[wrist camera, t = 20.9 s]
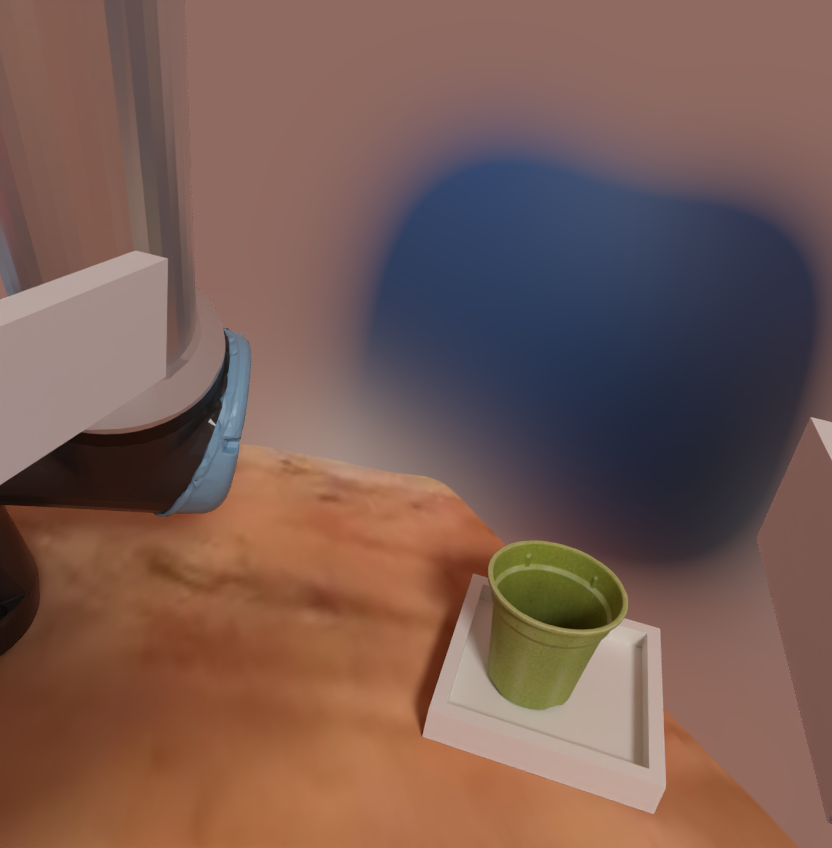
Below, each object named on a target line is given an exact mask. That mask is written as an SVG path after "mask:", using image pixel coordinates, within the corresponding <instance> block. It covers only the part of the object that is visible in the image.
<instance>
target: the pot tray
mask: <svg viewBox="0 0 832 848" xmlns="http://www.w3.org/2000/svg"><path fill="white" fill-rule="evenodd" d="M492 611H493V601H492V596H491V588H490V585H489V582H488V578H487V577H484V576H481V575H477V574H474V573H473V575H472V578H471V582H470V585H469V588H468V591H467V594H466V597H465V600H464V603H463V606H462V609H461V612H460V615H459V618H458V621H457V624H456V627H455V630H454V633H453V636H452V639H451V643H450V646H449V649H448V652H447V655H446V658H445V661H444V664H443V667H442V670H441V673H440V676H439V679H438V682H437V685H436V688H435V691H434V694H433V697H432V700H431V704H430V707H429V710H428V714H427V718H426V722H425V727H424V731H423V735H422V737H425V738H428V739H431V740H434V741H437V742H440V743H443V744H446V745H449V746H452V747H455V748H458V749H460V750H463V751H466V752H469V753H472V754H475V755H478V756H481V757H484V758H487V759H490V760H493V761H496V762H499V763H502V764H505V765H508V766H511V767H514V768H517V769H520V770H523V771H526V772H529V773H532V774H535V775H538V776H541V777H544V778H547V779H550V780H553V781H556V782H559V783H562V784H565V785H568V786H571V787H574V788H577V789H580V790H583V791H586V792H589V793H592V794H595V795H598V796H601V797H604V798H607V799H610V800H613V801H616V802H619V803H621V804H624V805H627V806H630V807H633V808H636V809H639V810H642V811H645V812H648V813H651V814H654V812H655V810H656V808H657V806H658V804H659V802H660V799H661V797H662V795H663V793H664V791H665V789H666V773H665V747H664V720H663V694H662V668H661V640H660V629H659V628H655V627H652V626H648V625H645V624H642V623H639V622H635V621H631V620H629V619H625V618H624V619H623V621H622V622H621V623H620V624H619V625H618V626H617V627H616V628H614V629H613V630H611V631H610V632H609V634H608V635H607V636H606V637H605V638H604V639H602V640H601V642H600V643H599V645H598V647H597V649H596V650H595V652H594V654H593V656H592V657H591V659H590V661H589V663H588V664H587V666H586V668H585V670H584V672H583V673H582V675H581V677H580V679H579V681H578V683H577V684H576V686H575V688H574V690H573V692H572V694H571V696H570V697H569V699H568V700H567V701H566V702H565V703H564V704H562V705H557V706H553V707H550V708H548V709H545V710H533V709H528V708H525V707H522V706H519V705H517V704H514V703H512V702H511V701H509V700H508V699H506V698H505V697H504V696H502V695H501V694H500V692H499V690H498V689H497V687H496V685H495V684H494V682H493V681H492V680H491V679H490V678H489V675H488V658H489V647H490V637H491V625H492Z"/></svg>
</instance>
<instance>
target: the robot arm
mask: <svg viewBox="0 0 832 848" xmlns="http://www.w3.org/2000/svg"><path fill="white" fill-rule="evenodd" d="M188 104H189V103H188V78H187V51H186V22H185V0H0V273H1V277H2V280H3V282H4V286H5V289H6V292H7V295H8V297H6V298H3V299H0V656H1V655H2V654H3V653H4V652H6V651H7V650H8V649H9V648H10V647H12V646H13V645H14V644H15V643H16V642H17V641H18V640H19V639H20V638H21V636H22V635H23V634H24V633H25V632H26V630H27V629H28V627H29V626H30V624H31V623H32V621H33V619H34V617H35V615H36V612H37V609H38V604H39V585H38V573H37V567H36V564H35V561H34V558H33V556H32V554H31V552H30V550H29V549H28V547H27V545H26V543H25V542H24V540H23V538H22V536H21V534H20V533H19V531H18V529H17V527H16V526H15V524H14V522H13V520H12V519H11V517H10V515H9V513H8V512H7V510H6V508H5V506H4V505H19V506H38V507H57V508H75V509H94V510H113V511H131V512H150V513H154V514H155V515H157V516H163V517H167V516H169V515H172V514H177V513H197V514H202V513H207V512H211V511H213V510H215V509H216V508H218V507H219V506H220V505H221V504H222V503H223V502H224V500H225V499H226V497H227V495H228V493H229V490H230V487H231V484H232V480H233V476H234V473H235V468H236V464H237V459H238V453H239V441H240V439H241V433H242V430H243V426H244V420H245V414H246V407H247V399H248V390H249V382H250V368H251V348H250V344H249V341H248V340H247V339H246V338H245V337H244V336H243V335H241V334H239V333H234V332H232V331H230V330H229V329H228V328H227V329H224V328H223V325H222V321H221V318H220V316H219V314H218V312H217V310H216V308H215V307H214V305H213V304H212V303H211V301H210V300H209V299H208V298H207V296H205V295H204V293H203V292H202V291H201V290H200V289H198V288H197V287H196V286H195V269H194V267H195V266H194V241H193V240H194V239H193V212H192V185H191V158H190V131H189V107H188V106H189V105H188ZM757 542H758V546H759V549H760V554H761V558H762V562H763V566H764V570H765V574H766V578H767V582H768V586H769V590H770V594H771V598H772V602H773V606H774V610H775V614H776V618H777V622H778V626H779V630H780V634H781V638H782V642H783V646H784V650H785V654H786V658H787V662H788V666H789V670H790V674H791V678H792V682H793V686H794V690H795V694H796V698H797V702H798V706H799V710H800V714H801V718H802V722H803V726H804V730H805V734H806V738H807V742H808V746H809V750H810V754H811V758H812V762H813V766H814V770H815V774H816V778H817V782H818V786H819V790H820V794H821V798H822V802H823V806H824V810H825V814H826V818H827V822H828V823H831V824H832V422H827V421H824V420H820V419H815V418H812V417H810V420H809V422H808V424H807V426H806V429H805V431H804V433H803V435H802V437H801V440H800V442H799V445H798V446H797V449H796V451H795V453H794V455H793V458H792V460H791V462H790V464H789V467H788V469H787V471H786V473H785V476H784V478H783V480H782V482H781V485H780V487H779V489H778V491H777V494H776V496H775V498H774V500H773V503H772V505H771V507H770V509H769V512H768V514H767V516H766V519H765V520H764V523H763V525H762V527H761V530H760V532H759V534H758V536H757Z"/></svg>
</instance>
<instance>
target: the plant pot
mask: <svg viewBox="0 0 832 848" xmlns="http://www.w3.org/2000/svg"><path fill="white" fill-rule="evenodd" d="M487 573H488V582H489V585H490V588H491V596H492V601H493V611H492V625H491V637H490V647H489V658H488V675H489V678H490V679H491V680H492V681H493V682H494V684H495V685H496V687H497V689H498V690H499V692H500V694H501V695H502V696H504V697H505V698H506V699H508V700H509V701H511V702H512V703H514V704H517V705H519V706H522V707H525V708H528V709H533V710H545V709H548V708H550V707H553V706H557V705H562V704H564V703H565V702H566V701H567V700H568V699H569V697H570V696H571V694H572V692H573V690H574V688H575V686H576V684H577V683H578V681H579V679H580V677H581V675H582V673H583V672H584V670H585V668H586V666H587V664H588V663H589V661H590V659H591V657H592V656H593V654H594V652H595V650H596V649H597V647H598V645H599V643H600V642H601V640H602V639H604V638H605V637H606V636H607V635H608V634H609V632H610V631H611V630H613V629H614V628H616V627H617V626H618V625H619V624H620V623H621V622H622V621H623V619H624V617H625V615H626V613H627V609H628V597H627V594H626V591H625V589H624V587H623V585H622V583H621V582H620V580H619V579H618V578H617V577H616V575H615V574H614V573H613V572H612V571H611V570H610V569H609V568H607V567H606V566H605V565H603V564H602V563H601V562H599V561H597V560H596V559H594V558H593V557H591V556H589V555H588V554H586V553H584V552H582V551H579V550H577V549H574V548H571V547H568V546H565V545H562V544H558V543H551V542H546V541H521V542H516V543H512V544H510V545H507V546H505V547H503V548H501V549H500V550H498V551H497V552H496V553H495V554H494V555H493V556H492V558H491V560H490V562H489V565H488V572H487Z"/></svg>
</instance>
